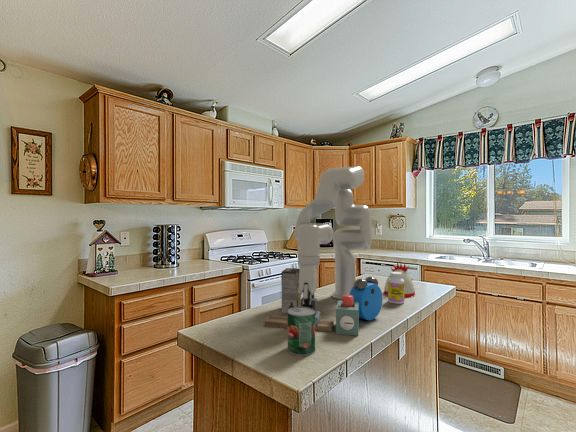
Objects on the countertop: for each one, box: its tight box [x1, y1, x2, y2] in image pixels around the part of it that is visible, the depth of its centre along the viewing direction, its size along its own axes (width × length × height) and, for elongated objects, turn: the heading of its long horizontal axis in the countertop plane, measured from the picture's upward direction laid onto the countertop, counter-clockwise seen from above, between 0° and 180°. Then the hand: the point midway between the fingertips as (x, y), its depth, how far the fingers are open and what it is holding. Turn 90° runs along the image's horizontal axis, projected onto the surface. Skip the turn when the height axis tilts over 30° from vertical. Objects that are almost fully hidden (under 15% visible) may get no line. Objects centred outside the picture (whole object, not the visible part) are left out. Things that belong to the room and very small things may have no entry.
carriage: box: [301, 297, 321, 325], centre depth 106 cm, size 8×7×7 cm
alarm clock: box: [350, 276, 384, 321], centre depth 113 cm, size 13×6×15 cm, turn 130°
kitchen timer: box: [383, 262, 416, 298], centre depth 149 cm, size 14×14×15 cm
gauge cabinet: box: [335, 299, 360, 336], centre depth 102 cm, size 10×7×8 cm, turn 166°
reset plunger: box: [341, 295, 353, 307], centre depth 103 cm, size 4×4×5 cm
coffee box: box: [280, 267, 302, 314], centre depth 124 cm, size 9×6×16 cm
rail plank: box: [264, 314, 335, 333], centre depth 107 cm, size 7×23×2 cm, turn 76°
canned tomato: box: [287, 307, 316, 357], centre depth 87 cm, size 8×8×11 cm
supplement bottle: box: [387, 271, 405, 305], centre depth 134 cm, size 7×7×13 cm
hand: (308, 313), depth 106 cm, fingers closed on carriage, 4 cm apart
